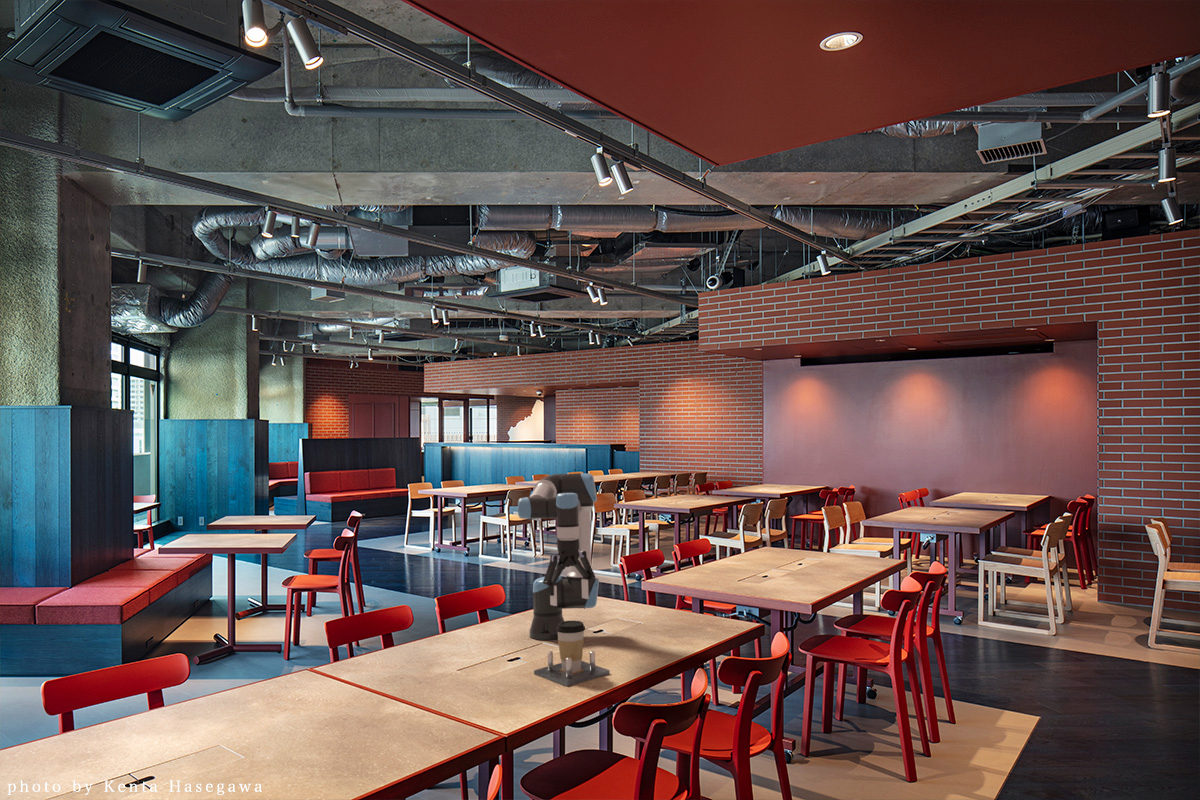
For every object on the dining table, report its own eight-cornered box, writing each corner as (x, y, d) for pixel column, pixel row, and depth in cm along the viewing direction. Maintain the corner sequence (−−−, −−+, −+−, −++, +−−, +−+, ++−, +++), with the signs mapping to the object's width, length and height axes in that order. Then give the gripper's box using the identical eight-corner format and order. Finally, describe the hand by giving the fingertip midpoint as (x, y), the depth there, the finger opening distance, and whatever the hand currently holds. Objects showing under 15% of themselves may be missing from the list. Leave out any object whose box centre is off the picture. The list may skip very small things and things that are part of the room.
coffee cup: (587, 664, 247) (586, 620, 248) (584, 673, 237) (583, 627, 238) (559, 664, 248) (558, 620, 249) (554, 673, 238) (553, 627, 239)
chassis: (576, 662, 255) (575, 641, 256) (609, 673, 241) (609, 651, 242) (534, 673, 244) (533, 652, 244) (566, 686, 230) (566, 663, 230)
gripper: (589, 533, 258) (590, 594, 257) (531, 541, 242) (533, 606, 241) (603, 535, 253) (604, 597, 252) (545, 544, 236) (546, 610, 235)
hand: (569, 601), depth 246 cm, fingers open, 13 cm apart
